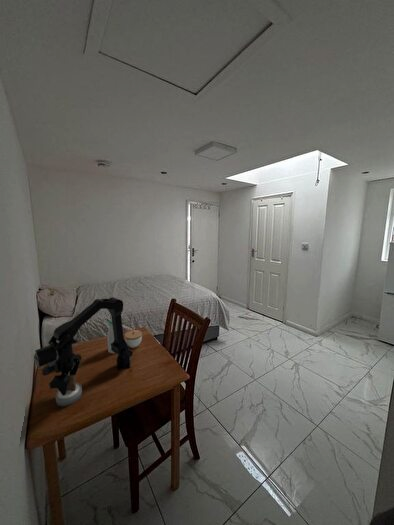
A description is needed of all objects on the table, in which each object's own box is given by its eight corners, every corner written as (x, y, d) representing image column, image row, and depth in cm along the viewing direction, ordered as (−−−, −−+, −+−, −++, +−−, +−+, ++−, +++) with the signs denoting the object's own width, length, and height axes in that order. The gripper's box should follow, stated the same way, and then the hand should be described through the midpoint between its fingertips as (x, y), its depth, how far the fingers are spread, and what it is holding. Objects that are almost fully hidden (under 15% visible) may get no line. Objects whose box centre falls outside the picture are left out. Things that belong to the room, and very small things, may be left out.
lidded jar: (122, 344, 137) (121, 331, 135) (137, 339, 144) (137, 326, 142) (129, 351, 129) (129, 337, 127) (145, 345, 136) (145, 332, 135)
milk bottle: (113, 355, 125) (111, 323, 122) (105, 351, 129) (103, 320, 126) (124, 349, 132) (122, 319, 128) (116, 345, 136) (114, 316, 132)
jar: (85, 387, 100) (84, 379, 99) (77, 404, 90) (76, 395, 89) (62, 390, 98) (61, 381, 97) (51, 407, 88) (50, 398, 88)
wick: (75, 388, 95) (74, 374, 94) (74, 390, 93) (73, 376, 92) (66, 389, 94) (64, 375, 93) (64, 392, 93) (63, 377, 92)
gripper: (54, 345, 98) (58, 374, 101) (32, 371, 80) (36, 407, 83) (80, 342, 100) (83, 372, 103) (64, 368, 82) (67, 403, 85)
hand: (68, 387), depth 93 cm, fingers open, 9 cm apart
